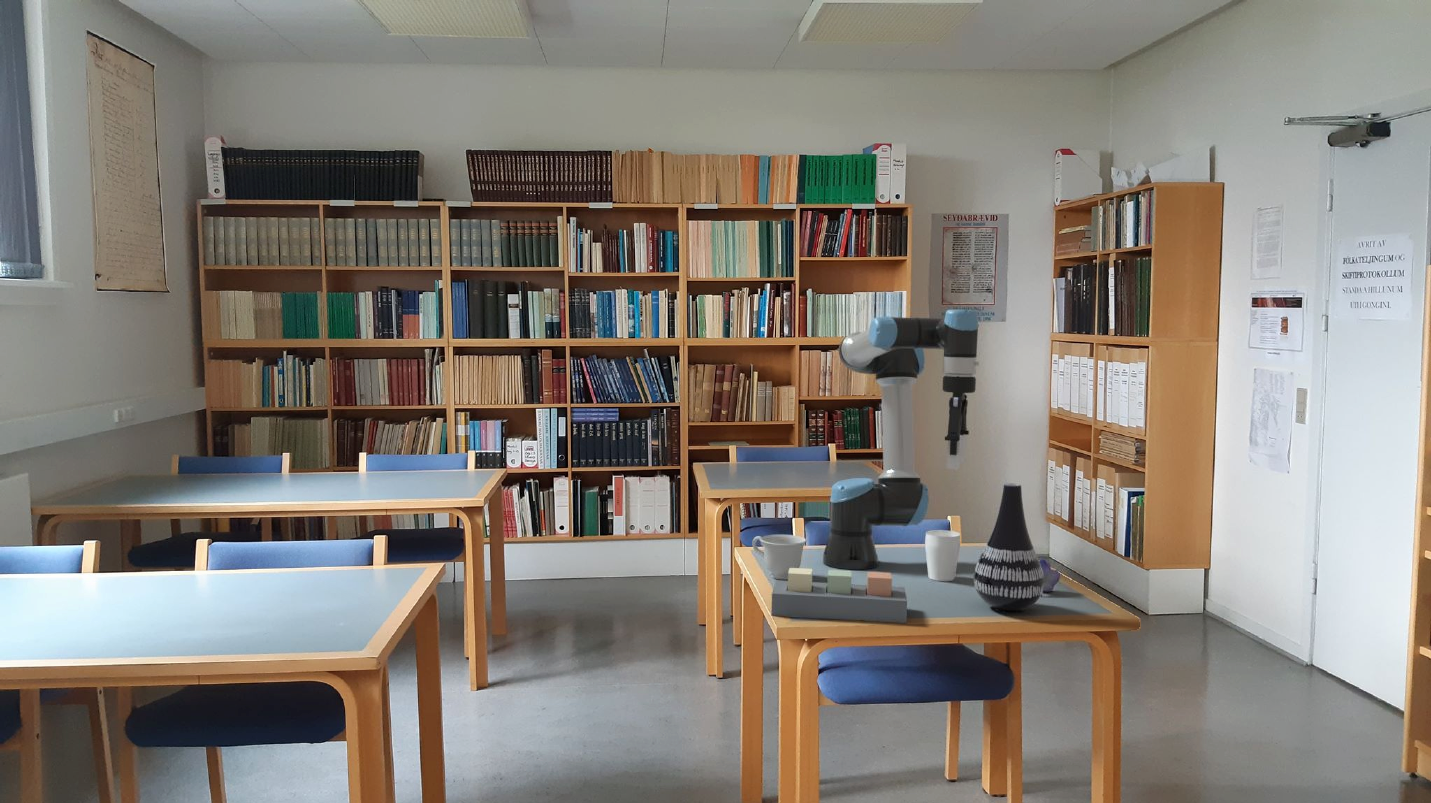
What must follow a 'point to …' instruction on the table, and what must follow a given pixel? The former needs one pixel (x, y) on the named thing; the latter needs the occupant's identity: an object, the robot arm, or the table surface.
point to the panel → (839, 603)
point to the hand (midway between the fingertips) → (956, 465)
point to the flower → (1049, 576)
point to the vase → (1009, 559)
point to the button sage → (839, 582)
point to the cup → (942, 554)
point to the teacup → (780, 553)
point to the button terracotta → (879, 584)
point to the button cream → (800, 580)
